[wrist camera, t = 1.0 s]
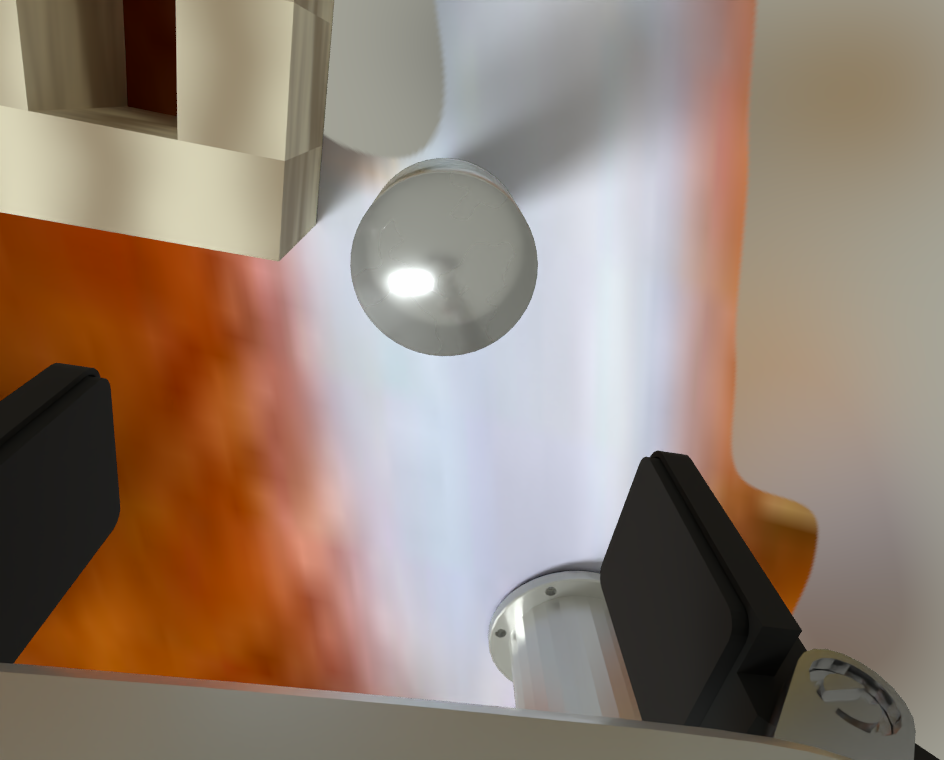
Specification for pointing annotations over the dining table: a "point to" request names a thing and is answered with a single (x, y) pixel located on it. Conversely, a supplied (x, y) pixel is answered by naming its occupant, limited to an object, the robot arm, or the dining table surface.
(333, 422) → the dining table surface
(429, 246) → the silver metal cylinder
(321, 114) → the block
